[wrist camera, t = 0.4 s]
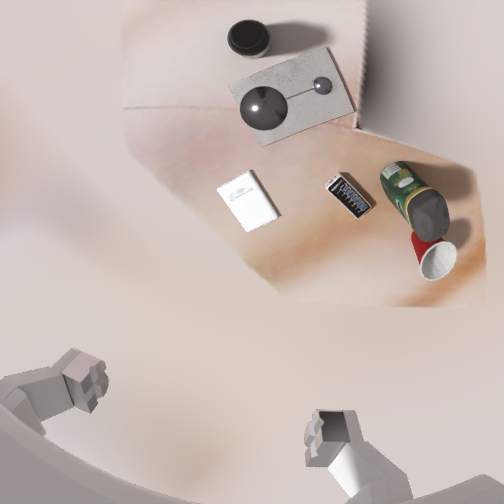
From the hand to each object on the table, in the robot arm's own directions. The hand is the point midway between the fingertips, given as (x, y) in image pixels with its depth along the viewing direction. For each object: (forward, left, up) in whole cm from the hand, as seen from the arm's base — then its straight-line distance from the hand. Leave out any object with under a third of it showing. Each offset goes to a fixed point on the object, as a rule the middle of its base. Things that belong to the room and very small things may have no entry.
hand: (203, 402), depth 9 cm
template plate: (-3, +8, -50) cm, 51 cm away
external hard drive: (+14, -10, -51) cm, 54 cm away
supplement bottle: (-16, +6, -50) cm, 53 cm away
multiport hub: (+21, +11, -51) cm, 56 cm away
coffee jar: (+22, +23, -50) cm, 60 cm away
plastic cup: (+39, +27, -50) cm, 69 cm away
